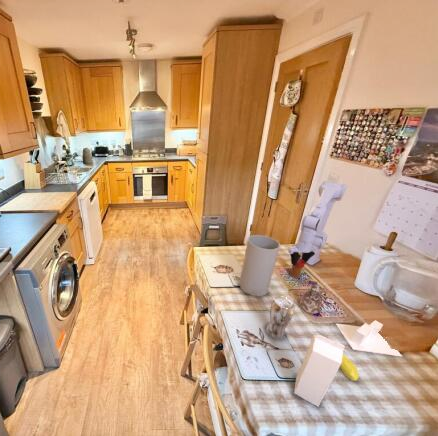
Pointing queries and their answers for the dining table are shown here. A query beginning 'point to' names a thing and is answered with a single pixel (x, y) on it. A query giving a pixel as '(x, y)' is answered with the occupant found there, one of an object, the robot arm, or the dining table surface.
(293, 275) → the spice jar
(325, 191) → the robot arm
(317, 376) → the milk
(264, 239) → the cylinder vase
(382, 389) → the dining table surface
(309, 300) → the figurine
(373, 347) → the napkin holder
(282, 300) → the beer glass
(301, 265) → the spice lid
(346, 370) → the lemon
